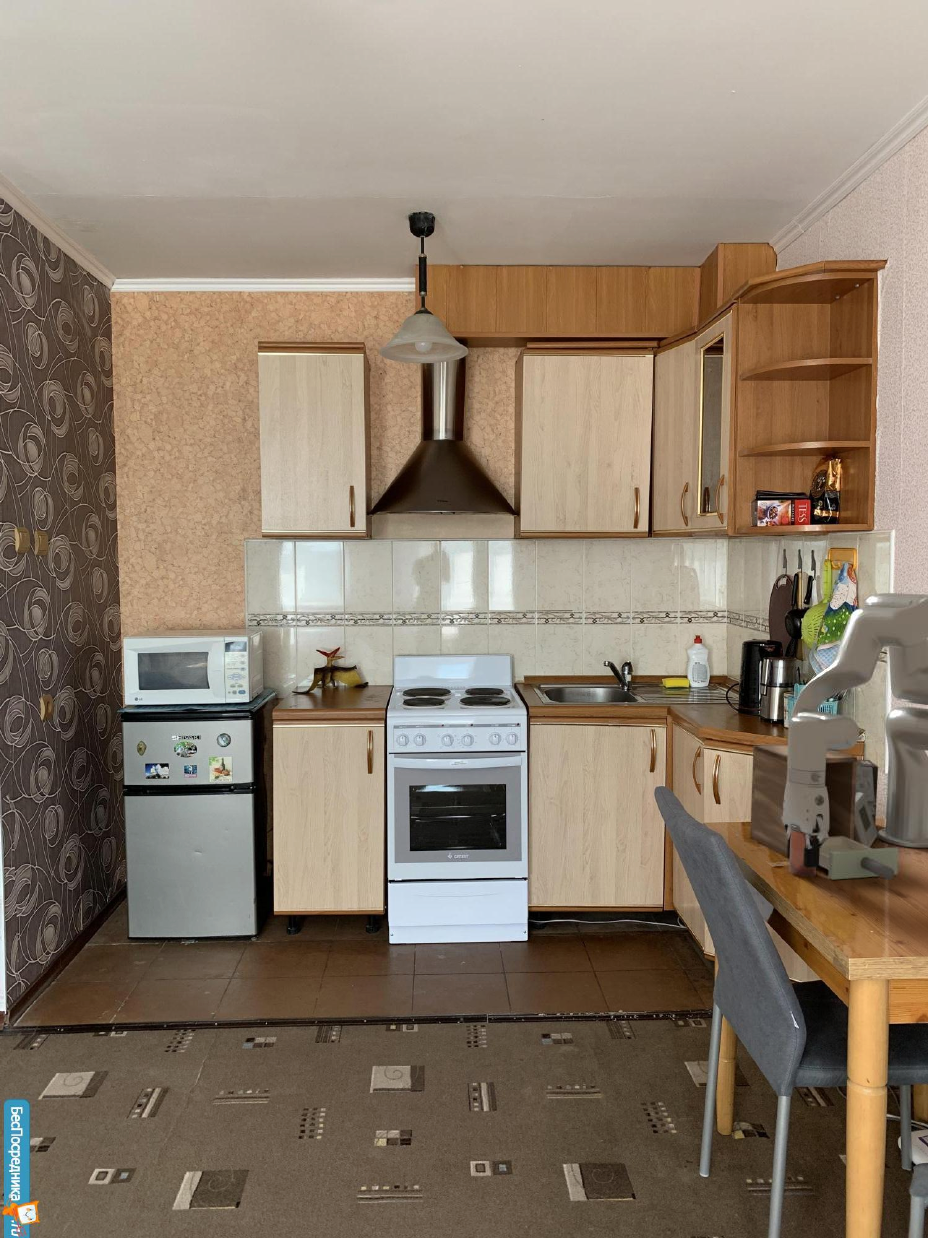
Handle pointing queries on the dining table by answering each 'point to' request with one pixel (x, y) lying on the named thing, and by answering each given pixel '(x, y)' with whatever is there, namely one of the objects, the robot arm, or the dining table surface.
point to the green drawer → (857, 859)
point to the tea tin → (799, 853)
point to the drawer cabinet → (771, 791)
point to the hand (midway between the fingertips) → (802, 861)
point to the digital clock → (863, 822)
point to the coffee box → (867, 783)
